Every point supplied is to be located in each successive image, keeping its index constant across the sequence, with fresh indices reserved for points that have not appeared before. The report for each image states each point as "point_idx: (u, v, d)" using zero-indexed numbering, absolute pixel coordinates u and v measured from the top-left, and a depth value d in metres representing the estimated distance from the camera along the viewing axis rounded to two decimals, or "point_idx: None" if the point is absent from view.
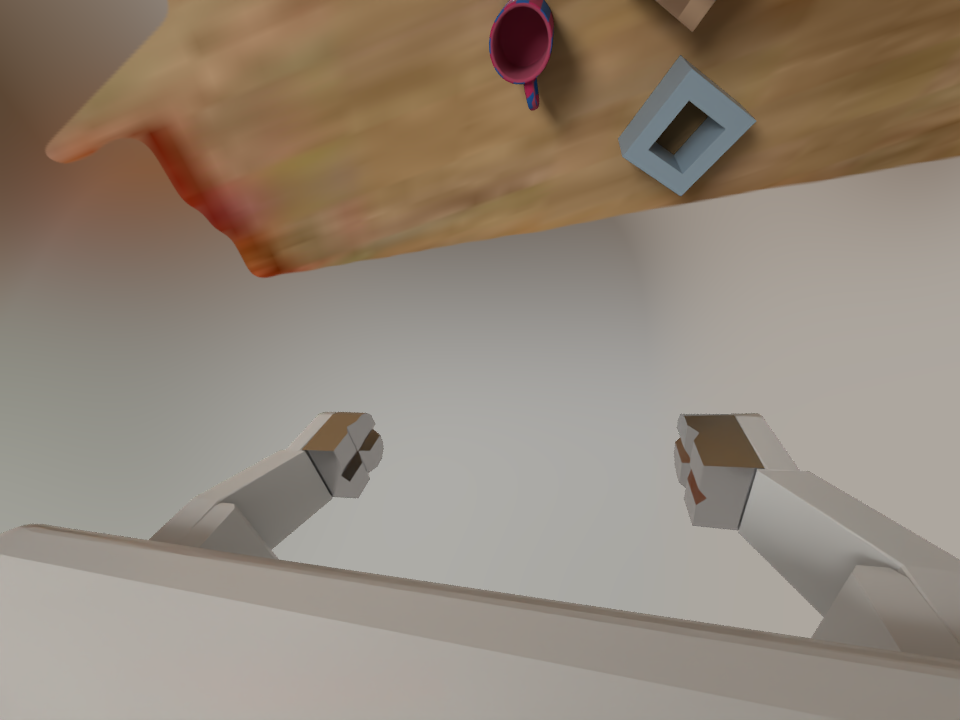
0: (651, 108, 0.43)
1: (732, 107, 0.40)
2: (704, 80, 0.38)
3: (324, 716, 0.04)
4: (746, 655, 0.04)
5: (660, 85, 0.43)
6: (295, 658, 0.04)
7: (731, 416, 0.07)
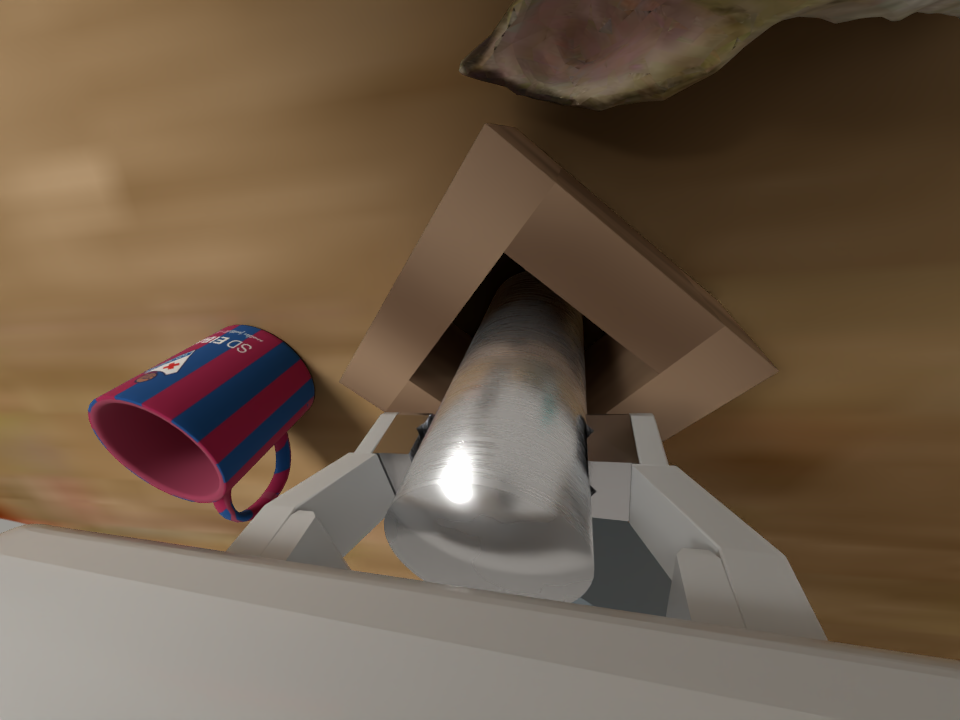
0: None
1: None
2: None
3: (324, 716, 0.04)
4: (745, 654, 0.04)
5: None
6: (295, 658, 0.04)
7: (627, 415, 0.08)
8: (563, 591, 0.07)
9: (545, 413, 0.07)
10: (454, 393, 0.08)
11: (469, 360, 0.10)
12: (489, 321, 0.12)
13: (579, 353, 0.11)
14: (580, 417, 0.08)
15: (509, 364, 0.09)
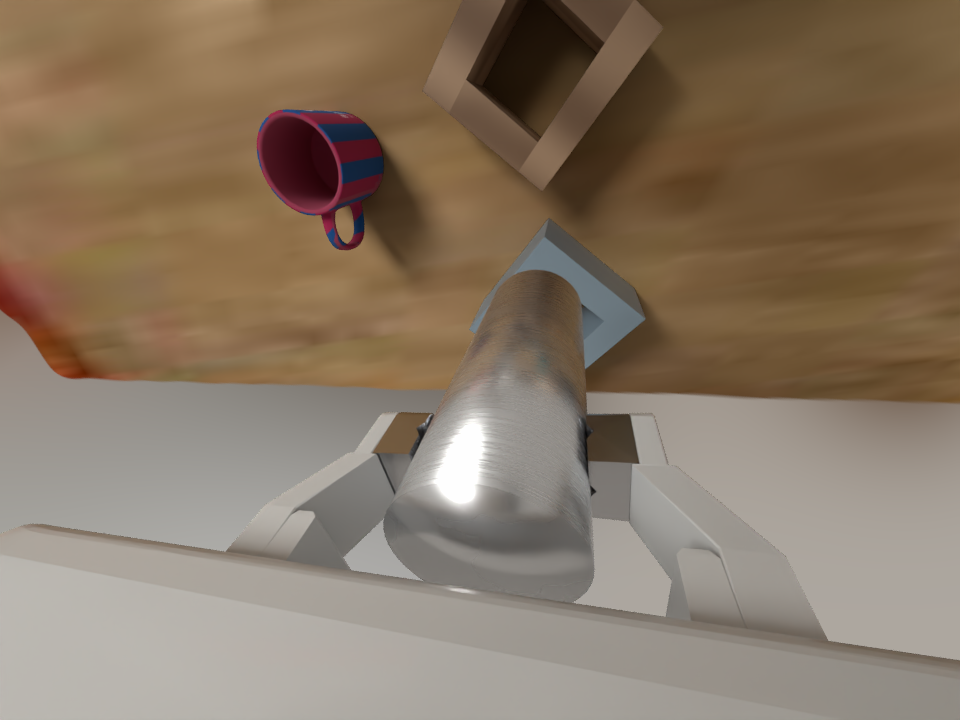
0: (508, 275, 0.30)
1: (609, 296, 0.27)
2: (564, 255, 0.26)
3: (325, 715, 0.04)
4: (747, 655, 0.04)
5: (525, 249, 0.31)
6: (295, 658, 0.04)
7: (626, 415, 0.08)
8: (563, 592, 0.07)
9: (544, 412, 0.07)
10: (454, 393, 0.08)
11: (469, 359, 0.10)
12: (489, 320, 0.12)
13: (579, 352, 0.11)
14: (580, 417, 0.08)
15: (509, 363, 0.09)
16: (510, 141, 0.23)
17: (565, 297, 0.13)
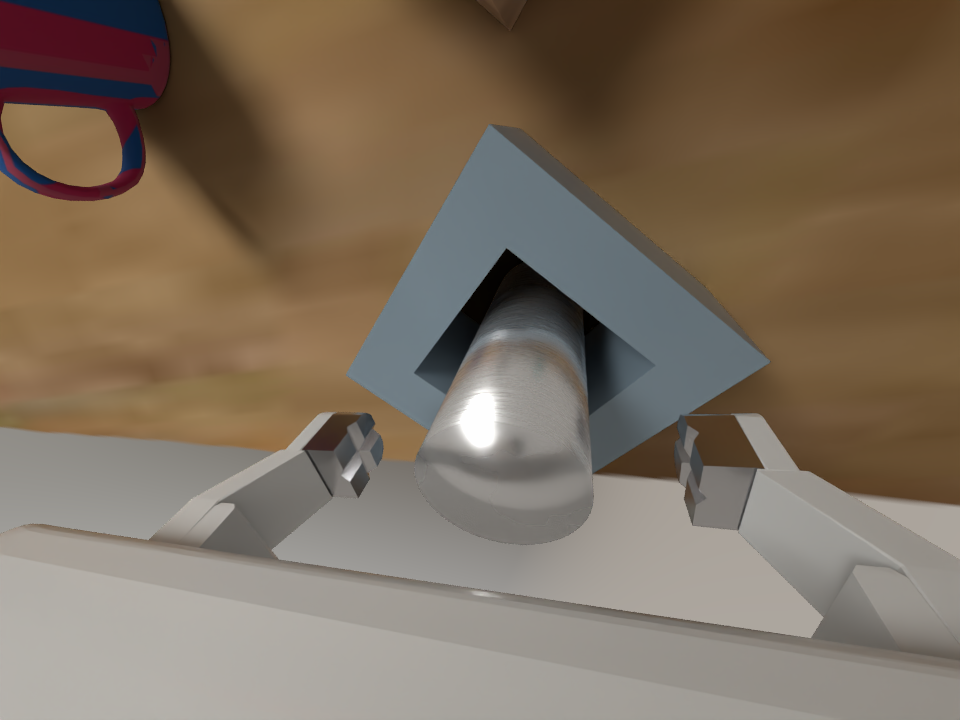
0: None
1: (674, 300, 0.10)
2: (550, 181, 0.09)
3: (324, 716, 0.04)
4: (746, 655, 0.04)
5: None
6: (295, 658, 0.04)
7: (731, 416, 0.07)
8: (567, 521, 0.08)
9: (551, 372, 0.09)
10: (471, 360, 0.10)
11: (482, 334, 0.11)
12: (498, 303, 0.13)
13: (579, 330, 0.12)
14: (581, 380, 0.10)
15: (519, 335, 0.10)
16: None
17: None
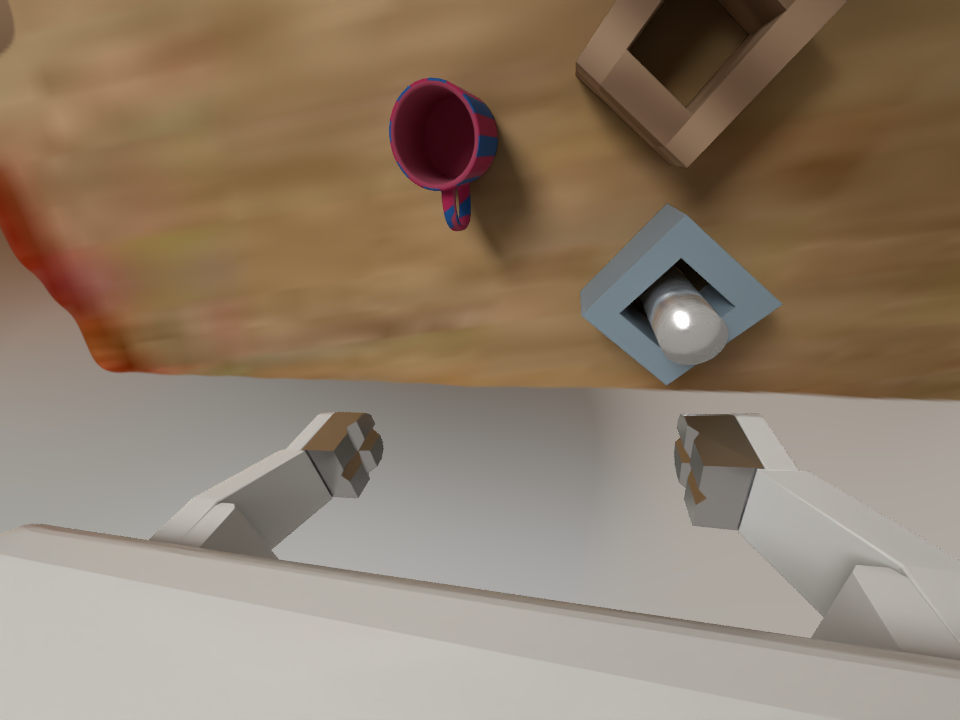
0: (625, 260, 0.29)
1: (746, 279, 0.26)
2: (704, 234, 0.25)
3: (323, 716, 0.04)
4: (745, 654, 0.04)
5: (639, 235, 0.30)
6: (295, 658, 0.04)
7: (732, 416, 0.07)
8: (715, 350, 0.24)
9: (706, 302, 0.24)
10: (669, 300, 0.25)
11: (664, 293, 0.27)
12: (659, 282, 0.29)
13: None
14: None
15: (686, 291, 0.26)
16: (662, 114, 0.23)
17: (683, 275, 0.30)
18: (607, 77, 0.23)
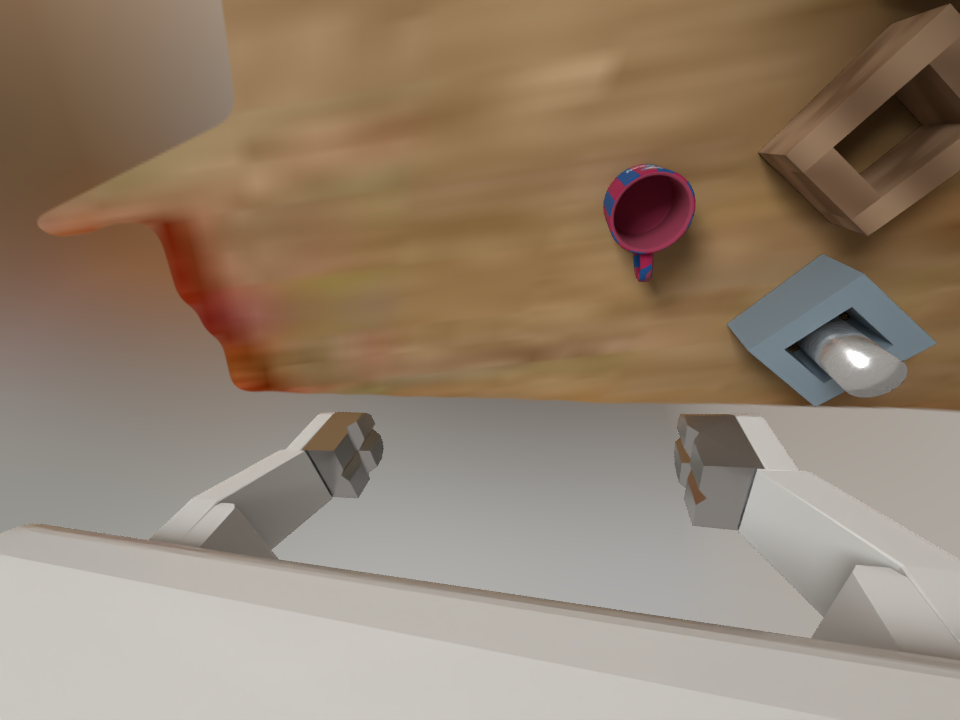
0: (788, 303, 0.34)
1: (908, 323, 0.31)
2: (877, 289, 0.30)
3: (324, 716, 0.04)
4: (747, 655, 0.04)
5: (795, 280, 0.35)
6: (295, 658, 0.04)
7: (732, 416, 0.07)
8: (892, 386, 0.29)
9: (880, 346, 0.30)
10: (843, 343, 0.31)
11: (833, 335, 0.32)
12: None
13: None
14: None
15: (857, 335, 0.31)
16: (854, 196, 0.28)
17: None
18: (811, 167, 0.28)
